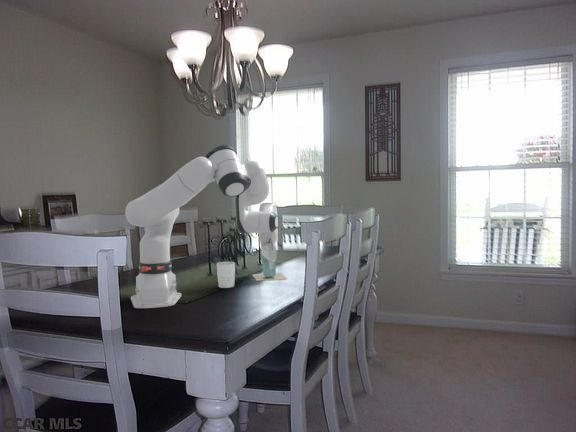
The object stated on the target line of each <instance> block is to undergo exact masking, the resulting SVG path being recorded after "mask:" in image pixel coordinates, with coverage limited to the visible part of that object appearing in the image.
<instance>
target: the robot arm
mask: <svg viewBox="0 0 576 432" xmlns="http://www.w3.org/2000/svg"><path fill="white" fill-rule="evenodd" d="M213 182H216V183H217V184H216V185H217V186H218V189H219V191H220V192H221V194H222V195H223V196H225V197H227V198H228V197H231V198H235V216H236V217H235V227H236V230H238V232H239V233H241V234H242V235H243V234H258V242H259V243H260V252H261V255H262V256H263V257H264V259H263V260H269V269H273V263H274V261H275V262H276V261H277V245H276V243H277V242H279V230H278V227H279V224H280V222H279V221H280V219H279V215H278V209H277V205H276V203H272V202H265V200H266V199H267V197H268V196H269V194H270V185H269V179H268V178H267V174H266V172H265V170H264V168H263V166H262V165H261V164H260V163H259V162H258V161H255V160H248V161H246V162H244V163H242V162H241V159H240V158H239V156H238V153H237V151H236V150H235V148H234V147H233V146H231V145H229V144H220V145H217V146H215V147H213V148H212V149H211V150H210V151H208V153H207V154H206V156H198V157H195V158H194V159H193V158H192V160H190V161H189V162H187V163H186V164H184V165H183V166H181V167H180V168H179V169H178V170H177V171H176V172H175V173H173V174H172V175H171V176H169V178H168V179H166V180H165V181H164V182H162V183H161V184H159V185H157V186H155V187H154V188H153V189H151V190H149V191H147V192H146V193H145V194H143V195H141V196H139V197H138V198H136V199H133V200H131V201H130V202H128V203H127V205H126V207H125V211H124V212H125V214H124V215H125V218H126V220H127V222H128V223H129V224H130V225H132V226H135V227H141V228H145V233H144V235H143V236H142V238H141V239H140V241H139V263H138V269H139V270H138V272H139V274H138V275H137V276H135V282H136V283H135V289H134V292H135V293H136V294H134V295H131V296H130V301H131V303H132V306H133V308H134V309H157V308H167V307H171V306H174V305H176V303H177V302H178V300H180V298H181V297H182V293H181V292H177V291H178V289H177V279H176V278H177V277H176V274H175V273H173V272H172V260H171V235H172V232H173V231H172V230H173V226H174V224H175V221H176V220H177V219H178V217H179V214H180V208H181V207H183V206H184V205H186V204H187V203H188V202H190V201H191V200H192V199H193V198H194V197H196V196H197V195H198V194H199V193H200V192H202V191H203V190H204V189H205V188H206V187H207V186H208V185H209V184H211V183H213ZM255 205H259V209H258V210H259V211H257V210H256V211H255V210H254V211H252V210H251V211H250V210H247V209H246V208H247V207H251V206H255Z"/></svg>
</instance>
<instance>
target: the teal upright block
mask: <svg viewBox="0 0 576 432" xmlns="http://www.w3.org/2000/svg"><path fill="white" fill-rule="evenodd" d="M276 264H277V263H276V260H275V261H274V263H273V269H269V260H265V259H262V274H263V275H264V276H276V273H277V271H276V269H277V268H276V267H277V266H276Z"/></svg>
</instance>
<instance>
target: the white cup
mask: <svg viewBox="0 0 576 432" xmlns="http://www.w3.org/2000/svg"><path fill="white" fill-rule="evenodd" d="M216 276H217V283H218V287H219V288H220V289H228V288H229V289H230V288H234V287H235V280H236V262H234V261H220V262H216Z"/></svg>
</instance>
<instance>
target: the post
mask: <svg viewBox="0 0 576 432" xmlns="http://www.w3.org/2000/svg"><path fill="white" fill-rule="evenodd" d="M251 276H252V277H253V279H254V280H255V281H256V282H261V281H278V280H279V281H280V280H281V281H282V280H287V279H288V278H287V277H286V276H285V275H283V273H282V272H276V276H264V275H263V273H256V274H254V273H253V274H252V275H251Z"/></svg>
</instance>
